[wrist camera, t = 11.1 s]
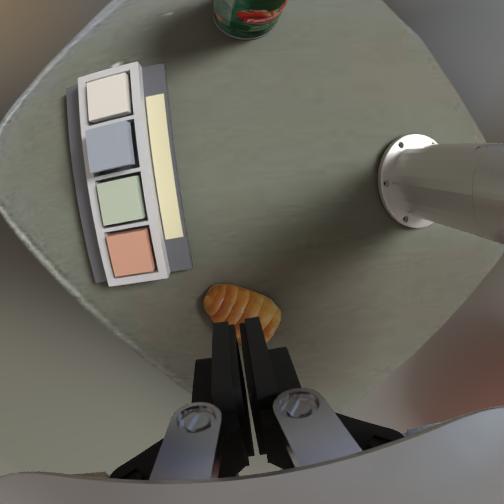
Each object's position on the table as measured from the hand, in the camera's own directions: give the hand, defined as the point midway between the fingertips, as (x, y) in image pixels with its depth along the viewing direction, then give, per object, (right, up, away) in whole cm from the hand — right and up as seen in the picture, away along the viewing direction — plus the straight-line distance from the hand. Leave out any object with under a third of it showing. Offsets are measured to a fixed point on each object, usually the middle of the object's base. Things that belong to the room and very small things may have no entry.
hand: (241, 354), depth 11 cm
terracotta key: (-13, +4, +22) cm, 26 cm away
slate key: (-14, +14, +18) cm, 27 cm away
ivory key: (-15, +20, +18) cm, 30 cm away
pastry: (-1, -4, +29) cm, 29 cm away
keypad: (-14, +13, +22) cm, 29 cm away
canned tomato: (0, +32, +19) cm, 37 cm away
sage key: (-13, +9, +21) cm, 26 cm away
